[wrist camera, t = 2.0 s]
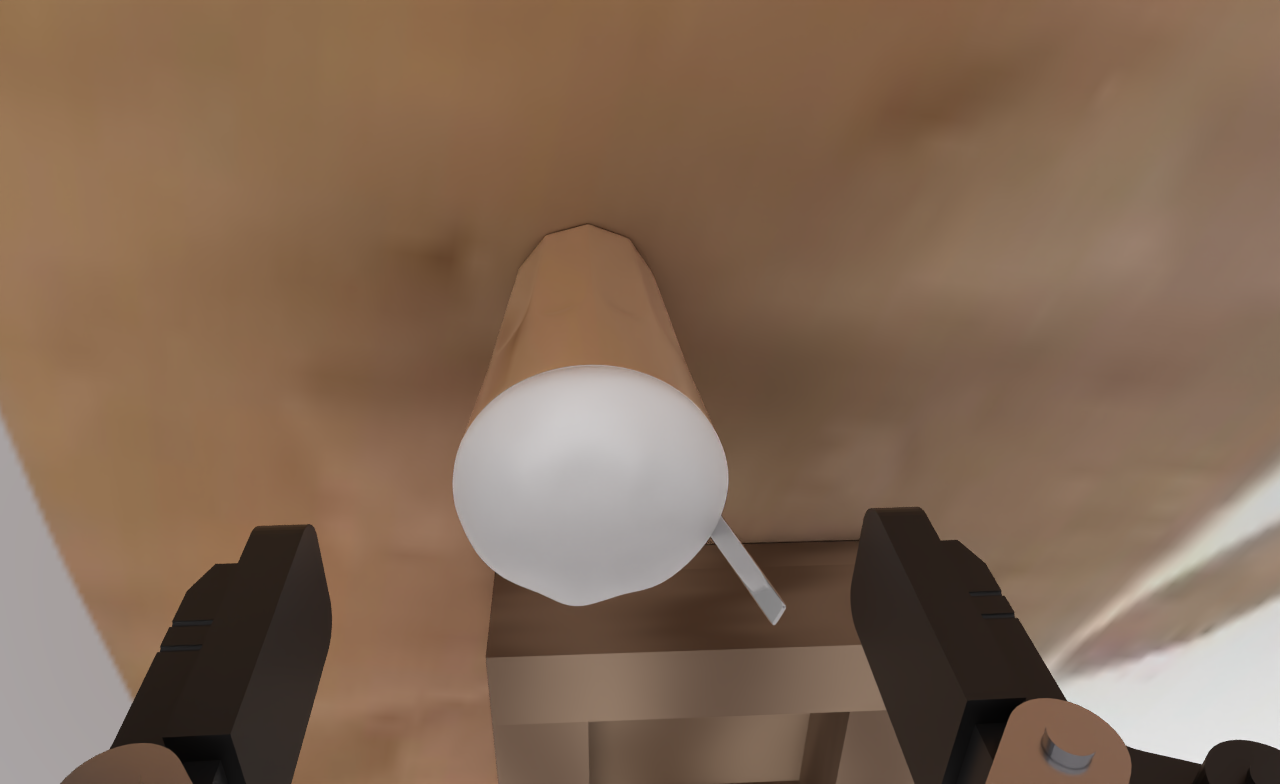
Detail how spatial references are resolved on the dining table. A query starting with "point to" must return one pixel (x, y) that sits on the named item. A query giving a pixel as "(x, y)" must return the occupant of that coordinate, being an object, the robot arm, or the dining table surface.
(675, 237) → the dining table surface
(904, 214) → the dining table surface
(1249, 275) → the dining table surface
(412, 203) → the dining table surface
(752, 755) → the socket block
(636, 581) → the milkshake
